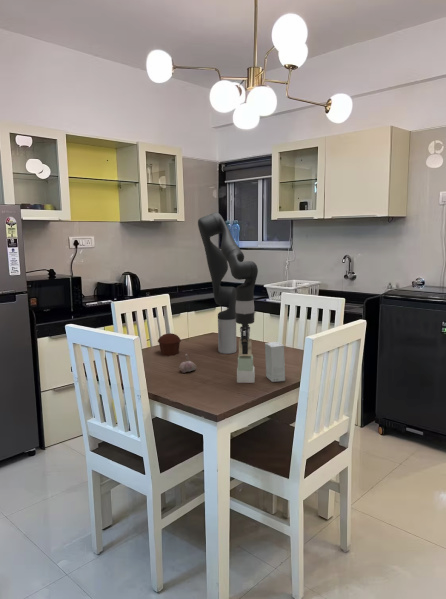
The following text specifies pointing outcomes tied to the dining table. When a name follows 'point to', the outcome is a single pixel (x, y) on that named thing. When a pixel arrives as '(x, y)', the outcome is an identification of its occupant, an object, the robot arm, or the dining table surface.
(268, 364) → the skincare box
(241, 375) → the grey base block
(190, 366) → the garlic bulb
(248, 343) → the beige metal block
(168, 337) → the muffin
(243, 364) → the sage block
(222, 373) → the dining table surface
